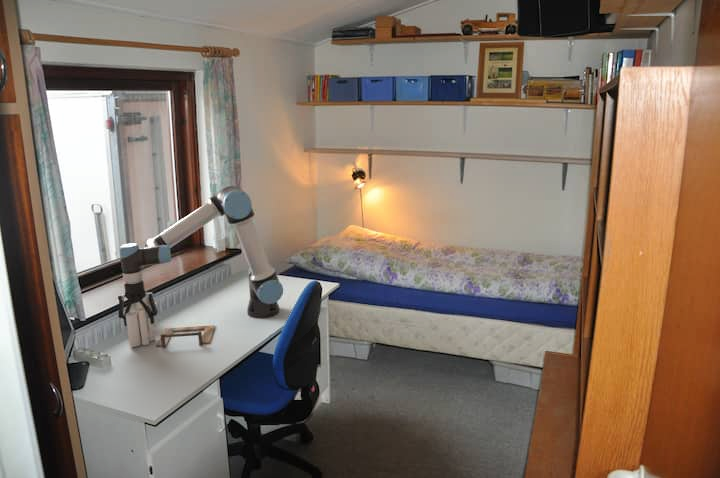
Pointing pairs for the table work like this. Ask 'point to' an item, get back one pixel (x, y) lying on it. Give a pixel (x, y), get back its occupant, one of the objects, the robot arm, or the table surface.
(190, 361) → the table surface
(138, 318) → the candle
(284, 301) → the table surface
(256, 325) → the table surface
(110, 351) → the table surface
